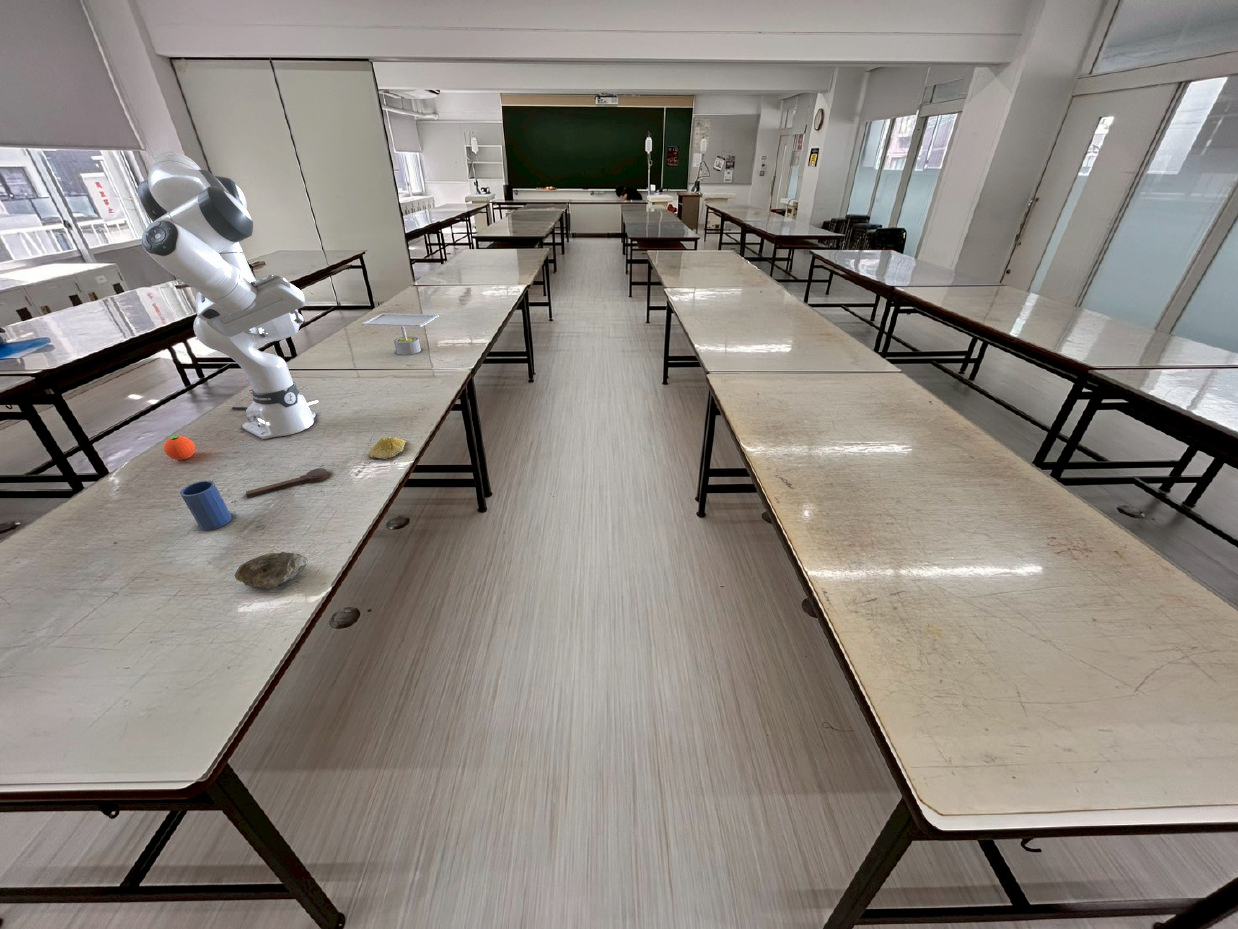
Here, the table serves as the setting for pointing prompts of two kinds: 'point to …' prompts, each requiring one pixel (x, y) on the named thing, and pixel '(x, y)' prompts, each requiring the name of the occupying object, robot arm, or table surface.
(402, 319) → the solar panel model
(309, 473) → the spoon
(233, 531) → the table surface
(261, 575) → the stone
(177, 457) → the clementine
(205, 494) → the cup
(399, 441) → the fossil
